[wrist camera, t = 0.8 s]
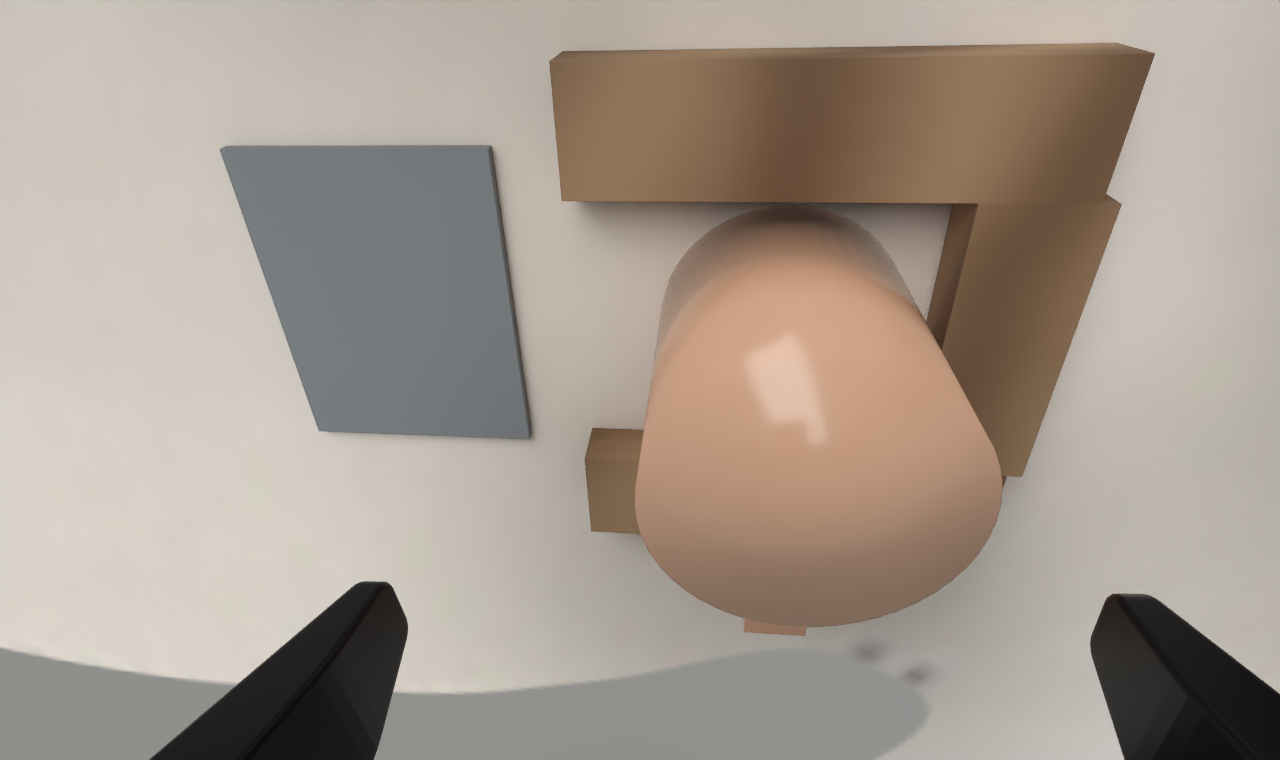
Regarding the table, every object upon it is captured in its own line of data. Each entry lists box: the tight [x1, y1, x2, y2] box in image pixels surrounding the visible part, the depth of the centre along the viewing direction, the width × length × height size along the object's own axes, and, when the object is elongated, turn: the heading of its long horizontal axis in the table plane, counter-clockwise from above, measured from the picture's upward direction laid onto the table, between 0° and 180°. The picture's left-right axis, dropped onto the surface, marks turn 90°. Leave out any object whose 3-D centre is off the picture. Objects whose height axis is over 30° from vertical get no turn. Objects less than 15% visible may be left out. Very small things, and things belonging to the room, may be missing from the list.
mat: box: [220, 146, 531, 439], centre depth 20 cm, size 7×9×1 cm
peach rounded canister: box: [635, 206, 1002, 636], centre depth 17 cm, size 10×7×8 cm
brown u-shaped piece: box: [549, 43, 1155, 534], centre depth 18 cm, size 12×14×2 cm
